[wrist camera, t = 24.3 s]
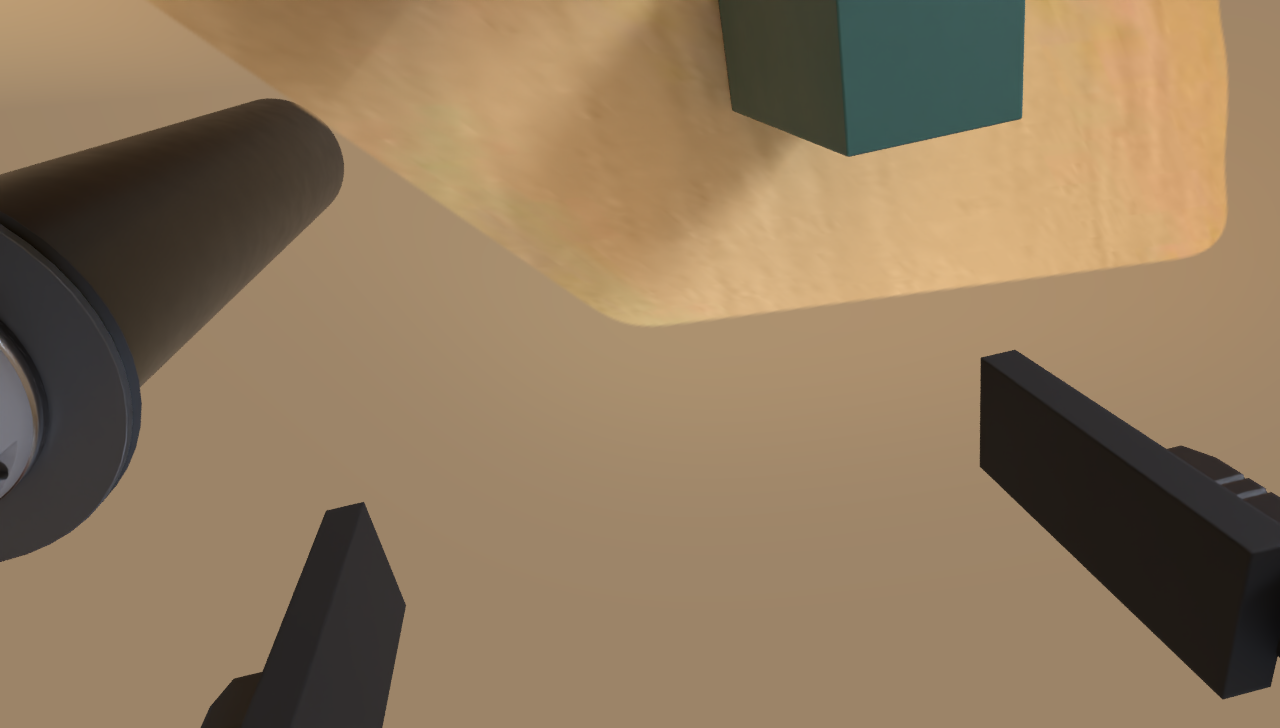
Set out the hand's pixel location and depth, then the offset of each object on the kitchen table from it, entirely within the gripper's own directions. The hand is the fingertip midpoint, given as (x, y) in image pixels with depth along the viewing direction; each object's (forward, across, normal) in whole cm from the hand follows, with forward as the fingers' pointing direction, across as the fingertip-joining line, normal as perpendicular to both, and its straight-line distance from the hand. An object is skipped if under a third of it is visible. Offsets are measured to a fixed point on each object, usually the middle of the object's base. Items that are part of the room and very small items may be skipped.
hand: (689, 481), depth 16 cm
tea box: (+21, +12, +7) cm, 25 cm away
